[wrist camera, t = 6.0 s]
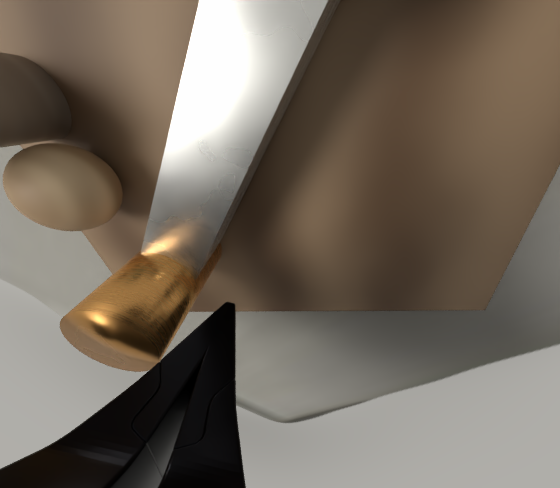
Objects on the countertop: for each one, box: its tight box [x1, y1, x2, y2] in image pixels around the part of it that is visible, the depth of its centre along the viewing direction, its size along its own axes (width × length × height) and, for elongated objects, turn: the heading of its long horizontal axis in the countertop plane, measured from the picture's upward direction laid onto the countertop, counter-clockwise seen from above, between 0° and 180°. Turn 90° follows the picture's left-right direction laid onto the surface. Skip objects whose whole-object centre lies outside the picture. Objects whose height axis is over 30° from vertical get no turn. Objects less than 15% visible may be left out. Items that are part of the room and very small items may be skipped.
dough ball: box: [3, 143, 123, 231], centre depth 9 cm, size 4×4×4 cm
